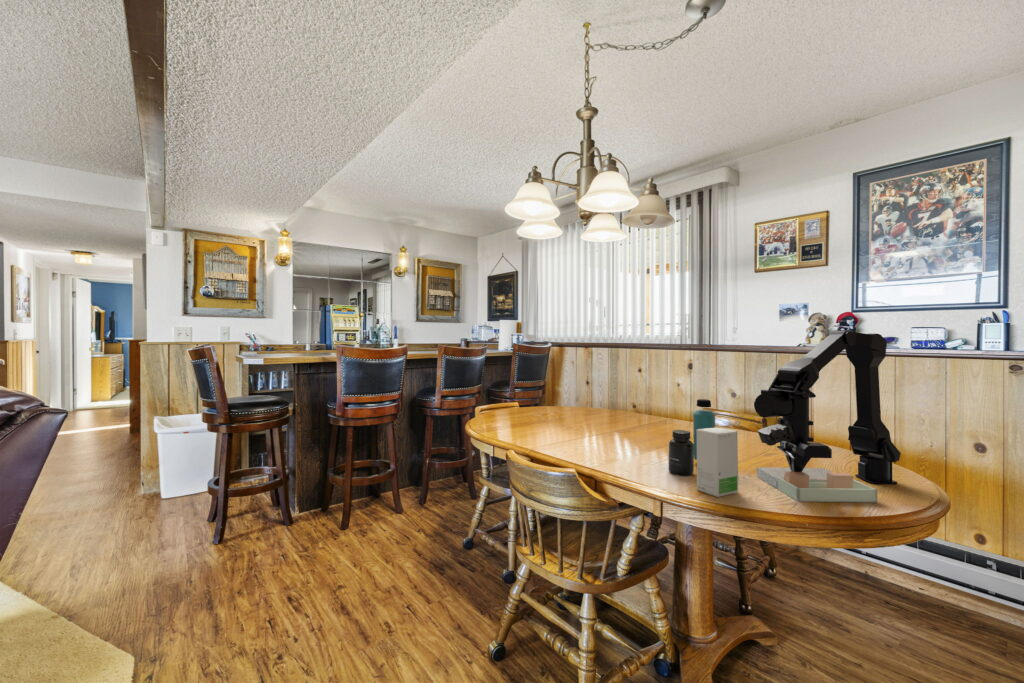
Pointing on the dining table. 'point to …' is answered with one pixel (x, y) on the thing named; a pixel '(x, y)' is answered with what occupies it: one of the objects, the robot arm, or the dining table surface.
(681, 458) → the supplement bottle
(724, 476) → the skincare box
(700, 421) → the beverage bottle
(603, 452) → the dining table surface
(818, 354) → the robot arm
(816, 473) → the plate
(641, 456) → the dining table surface
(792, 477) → the tile
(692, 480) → the dining table surface
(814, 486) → the tray
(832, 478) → the tile
